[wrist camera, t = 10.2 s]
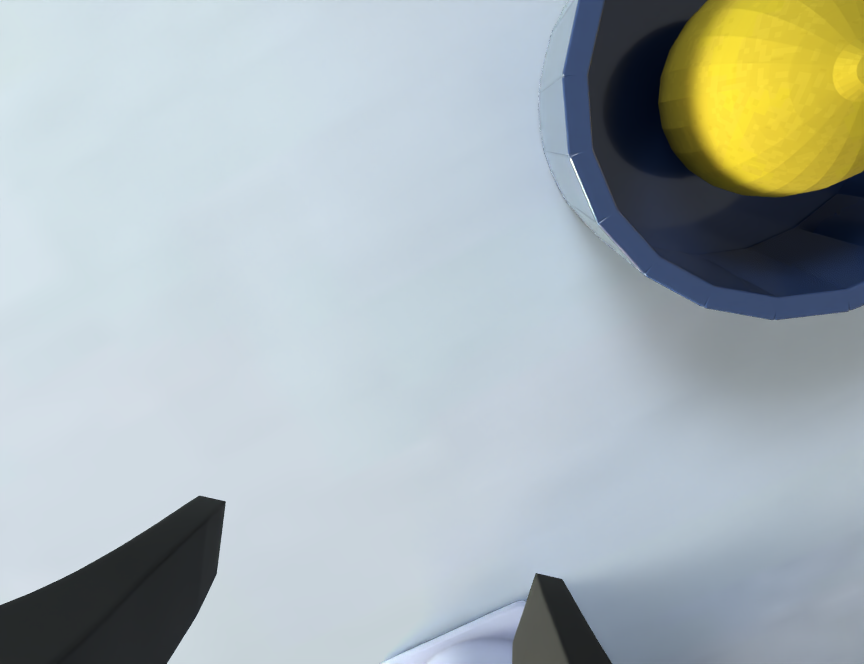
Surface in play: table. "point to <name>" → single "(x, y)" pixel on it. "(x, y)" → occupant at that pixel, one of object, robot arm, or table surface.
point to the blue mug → (682, 178)
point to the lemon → (768, 95)
